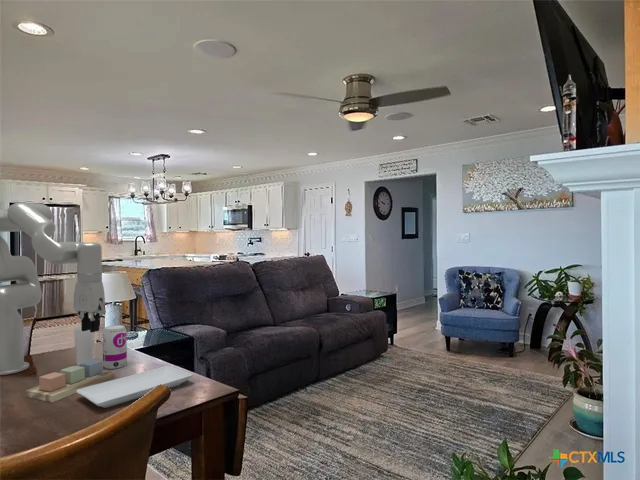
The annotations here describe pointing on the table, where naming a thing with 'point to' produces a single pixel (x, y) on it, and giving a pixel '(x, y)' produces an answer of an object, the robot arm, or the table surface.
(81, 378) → the key sage
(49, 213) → the robot arm
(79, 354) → the drinking glass
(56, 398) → the keypad base
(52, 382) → the key terracotta
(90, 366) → the key slate
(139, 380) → the tray
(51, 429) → the table surface
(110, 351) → the supplement can
